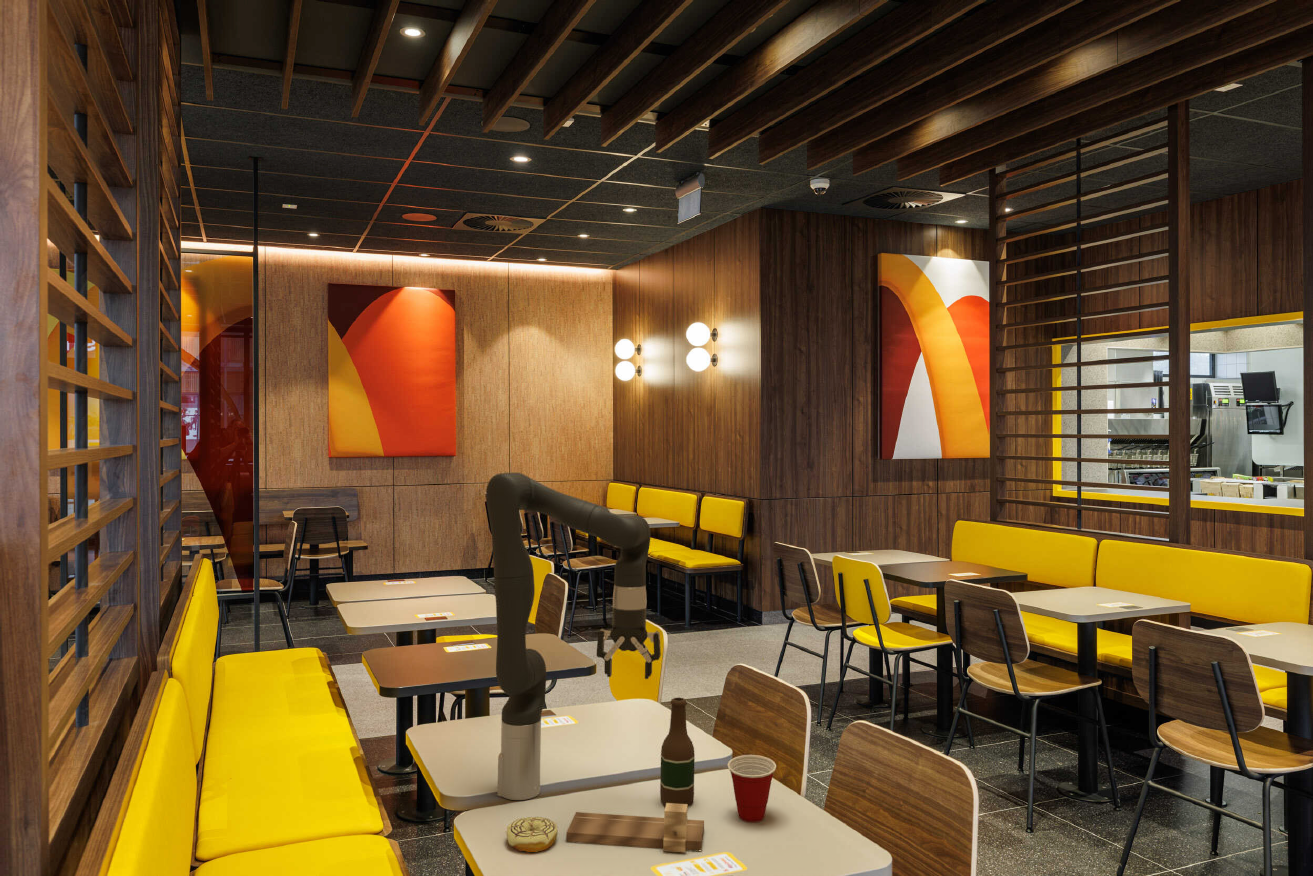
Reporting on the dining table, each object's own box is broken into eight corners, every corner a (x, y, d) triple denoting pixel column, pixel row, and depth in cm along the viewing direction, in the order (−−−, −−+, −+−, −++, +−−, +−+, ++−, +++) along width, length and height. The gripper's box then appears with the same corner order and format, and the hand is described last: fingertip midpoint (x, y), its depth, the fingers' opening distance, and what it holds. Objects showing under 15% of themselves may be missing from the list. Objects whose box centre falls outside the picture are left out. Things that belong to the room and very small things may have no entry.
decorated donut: (503, 855, 178) (503, 837, 178) (508, 831, 189) (509, 814, 189) (555, 854, 179) (556, 836, 179) (558, 831, 190) (558, 813, 190)
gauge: (663, 851, 180) (663, 813, 180) (667, 830, 190) (668, 794, 190) (684, 852, 180) (685, 815, 180) (688, 831, 189) (689, 795, 189)
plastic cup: (718, 821, 195) (719, 766, 195) (737, 803, 205) (738, 751, 205) (765, 832, 190) (766, 776, 190) (782, 813, 200) (783, 760, 200)
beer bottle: (694, 797, 208) (696, 695, 208) (692, 811, 200) (694, 705, 200) (661, 795, 209) (663, 693, 209) (658, 809, 201) (660, 703, 201)
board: (566, 842, 184) (566, 832, 184) (575, 821, 194) (576, 812, 194) (701, 851, 181) (701, 841, 181) (703, 829, 191) (704, 820, 191)
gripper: (595, 607, 197) (594, 680, 197) (659, 609, 195) (657, 683, 195) (601, 601, 204) (599, 671, 204) (662, 603, 203) (661, 674, 203)
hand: (628, 677), depth 200 cm, fingers open, 8 cm apart
